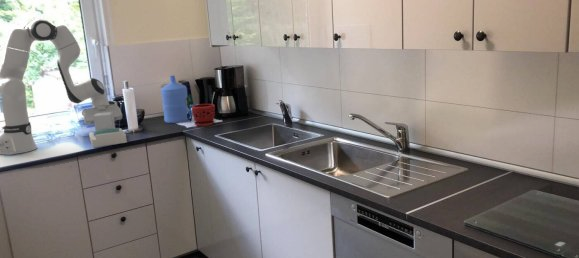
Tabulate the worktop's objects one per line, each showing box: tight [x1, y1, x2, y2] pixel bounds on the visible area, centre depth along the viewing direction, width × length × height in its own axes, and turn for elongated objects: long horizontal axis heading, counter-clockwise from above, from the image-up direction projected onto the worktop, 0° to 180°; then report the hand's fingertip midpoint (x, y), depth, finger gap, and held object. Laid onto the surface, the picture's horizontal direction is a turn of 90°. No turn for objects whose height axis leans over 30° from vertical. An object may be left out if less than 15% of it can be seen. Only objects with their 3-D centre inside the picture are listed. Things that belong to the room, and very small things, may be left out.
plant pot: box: [191, 103, 216, 128], centre depth 308 cm, size 13×13×12 cm
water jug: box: [160, 75, 190, 124], centre depth 324 cm, size 16×16×28 cm
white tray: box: [88, 127, 128, 148], centre depth 284 cm, size 20×17×6 cm
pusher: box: [94, 127, 119, 135], centre depth 279 cm, size 4×12×7 cm, turn 114°
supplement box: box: [93, 112, 116, 131], centre depth 285 cm, size 9×9×15 cm
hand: (105, 127), depth 290 cm, fingers closed
